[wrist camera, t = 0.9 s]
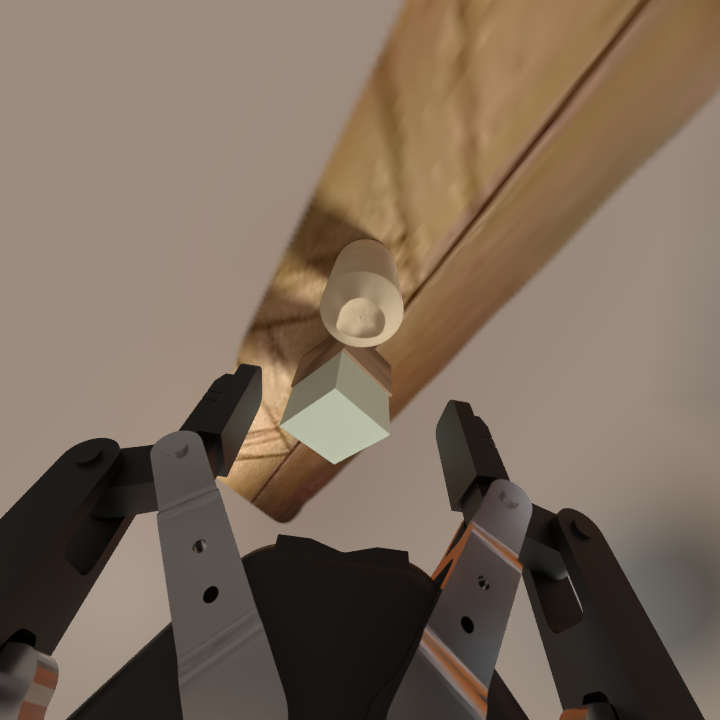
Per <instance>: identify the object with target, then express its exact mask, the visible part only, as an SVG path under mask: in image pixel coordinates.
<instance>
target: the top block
mask: <svg viewBox="0 0 720 720" xmlns="http://www.w3.org/2000/svg"><path fill="white" fill-rule="evenodd" d="M279 426H280V427H281V428H282V429H284V430H285V431H287V432H288V433H290V434H291V435H293V436H294V437H295V438H297V439H298V440H300V441H301V442H303V443H304V444H306V445H307V446H308V447H310V448H311V449H313V450H314V451H316V452H317V453H319V454H320V455H321V456H323V457H324V458H326V459H327V460H329V461H330V462H331V463H333V464H336V463H338V462H339V461H341V460H343V459H345V458H347V457H349V456H351V455H353V454H355V453H357V452H358V451H360V450H362V449H364V448H366V447H368V446H370V445H372V444H374V443H375V442H377V441H379V440H381V439H383V438H385V437H387V436H389V435H390V422H389V400H388V393H386V392H385V391H384V390H383V389H382V388H381V387H380V386H379V385H378V384H377V383H376V382H375V381H374V380H373V379H371V378H370V377H369V376H368V375H367V374H366V373H365V372H364V371H363V370H362V369H361V368H360V367H359V366H358V365H356V364H355V363H354V362H353V361H352V360H351V359H350V358H349V357H348V356H347V355H346V354H345V353H344V352H343V351H341V352H340V353H338V354H337V355H336V356H334V357H333V358H332V359H330V360H329V361H328V362H326V363H325V364H323V365H322V366H321V367H319V368H318V369H317V370H315V371H314V372H313V373H311V374H310V375H309V376H307V377H306V378H305V379H303V380H302V381H300V382H299V383H298V384H296V385H295V386H294V387H293V389H292V392H291V395H290V397H289V400H288V403H287V406H286V409H285V411H284V414H283V417H282V420H281V422H280V425H279Z"/></svg>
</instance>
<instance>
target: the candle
mask: <svg viewBox="0 0 720 720" xmlns="http://www.w3.org/2000/svg"><path fill="white" fill-rule="evenodd" d="M320 314H321V319H322V321H323V324H324V326H325V327H326V329H327V330H328V332H329V333H330V334H331V335H332V336H333V337H334V338H336V339H337V340H339V341H340V342H342V343H344V344H347V345H350V346H354V347H371V346H375V345H378V344H380V343H383V342H384V341H386V340H388V339H389V338H390V337H391V336H392V335H393V334H394V333H395V332H396V331H397V329H398V328H399V326H400V324H401V321H402V318H403V301H402V295H401V290H400V284H399V278H398V272H397V267H396V263H395V259H394V257H393V255H392V254H391V252H390V251H389V250H388V248H386V247H385V246H384V245H383V244H381V243H379V242H377V241H374V240H370V239H361V240H357V241H354V242H352V243H350V244H348V245H347V246H346V247H345V248H344V249H343V250H342V251H341V252H340V254H339V255H338V257H337V259H336V262H335V264H334V267H333V270H332V272H331V275H330V277H329V280H328V282H327V285H326V287H325V290H324V293H323V295H322V298H321V302H320Z"/></svg>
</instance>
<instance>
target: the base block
mask: <svg viewBox="0 0 720 720" xmlns="http://www.w3.org/2000/svg"><path fill="white" fill-rule="evenodd" d="M341 351H343V352H344V353H345V354H346V355H347V356H348V357H349V358H350V359H351V360H352V361H353V362H354V363H355V364H356V365H358V366H359V367H360V368H361V369H362V370H363V371H364V372H365V373H366V374H367V375H368V376H369V377H370V378H371V379H373V380H374V381H375V382H376V383H377V384H378V385H379V386H380V387H381V388H382V389H383V390H384V391H385V392H386V393H388V398H389V397H391V396H393V389H392V375H391V365H390V364H389V363H388V362H387V361H386V360H385V359H384V358H383V357H382V356H381V355H380V354H379V353H378V352H377V351H376V350H375V349H374V348H373V347H372V346H371V347H354V346H350V345H347V344H344V343H342V342H340V341H339V340H337V339H336V338H334V337H333V336H332V335H331V336H329V337H328V338H327V339H325V340H324V341H323V342H321V343H320V344H319V345H318V346H316V347H315V348H314V349H312V350H311V351H310V352H308V353H307V354H306V355H304V356H303V357H302V358H301V360H300V363H299V366H298V368H297V371H296V374H295V376H294V379H293V382H292V384H291V387H292V388H293V387H294V386H295V385H296V384H298V383H299V382H300V381H302V380H303V379H305V378H306V377H307V376H309V375H310V374H311V373H313V372H314V371H315V370H317V369H318V368H319V367H321V366H322V365H323V364H325V363H326V362H328V361H329V360H330V359H332V358H333V357H334V356H336V355H337V354H338V353H340V352H341Z"/></svg>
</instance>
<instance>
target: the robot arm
mask: <svg viewBox="0 0 720 720" xmlns="http://www.w3.org/2000/svg"><path fill="white" fill-rule="evenodd" d="M261 399H262V369H261V367H260V366H254V365H249V364H241V365H240V366H239V367H238V369H237V370H236V372H235V374H234V375H232V374H225V375H223V376H221V377H220V378H218V379H217V380H215V381H214V383H213V384H212V385H211V387H210V388H209V389H208V392H206V394H205V395H204V396H203V398H202V400H201V401H200V402H199V403H198V405H197V406H196V407H195V409H194V410H193V412H192V413H191V414H190V416H189V417H188V419H187V420H186V421H185V423H184V424H183V425H182V427H181V428H180V429H179V431H177V432H173V433H170V434H168V435H166V436H164V437H162V438H161V439H160V440H159V441H157V442H156V443H155V444H154V445H148V446H140V447H132V448H123V449H120V447H119V445H118V443H117V442H116V441H114V440H112V439H108V438H96V439H91V440H88V441H84V442H82V443H79V444H77V445H75V446H74V447H72V448H71V449H69V450H68V451H66V452H65V453H64V454H63V455H62V456H61V457H60V458H59V459H58V460H57V461H56V462H55V463H54V464H53V465H52V466H51V467H50V468H49V469H48V470H47V471H46V472H45V474H43V476H42V477H41V478H40V479H39V480H38V481H37V482H36V483H35V484H34V485H33V486H32V487H31V488H30V489H29V490H28V491H27V492H26V493H25V494H24V495H23V496H22V497H21V498H20V499H19V500H18V501H17V502H16V504H15V505H13V507H12V508H11V509H10V510H9V511H8V512H7V513H6V514H5V515H4V516H3V517H2V518H1V519H0V720H44V716H45V713H46V710H47V707H48V705H49V703H50V700H51V698H52V696H53V694H54V691H55V689H56V685H57V682H58V676H59V670H58V666H57V663H56V661H55V660H54V659H53V658H52V657H51V655H52V653H53V651H54V650H55V648H56V646H57V645H58V643H59V641H60V640H61V638H62V636H63V635H64V633H65V631H66V630H67V628H68V626H69V625H70V623H71V621H72V620H73V618H74V617H75V615H76V613H77V612H78V610H79V608H80V607H81V605H82V603H83V602H84V600H85V598H86V597H87V595H88V593H89V592H90V590H91V588H92V587H93V585H94V583H95V582H96V580H97V578H98V577H99V575H100V574H101V572H102V570H103V569H104V567H105V565H106V563H107V562H108V560H109V559H110V557H111V555H112V554H113V552H114V550H115V549H116V547H117V545H118V544H119V542H120V540H121V539H122V537H123V535H124V534H125V532H126V530H127V529H128V527H129V525H130V524H131V522H132V520H133V519H134V517H135V516H136V515H137V514H142V513H147V512H153V511H159V513H158V514H157V524H158V531H159V538H160V545H161V551H162V558H163V565H164V571H165V578H166V585H167V592H168V599H169V606H170V613H171V619H172V621H171V622H170V623H169V624H168V625H167V626H166V627H165V628H164V629H163V630H162V631H161V632H160V633H159V634H157V635H156V637H154V638H153V639H152V640H151V641H150V642H149V643H148V644H147V645H146V646H144V647H143V648H142V649H141V650H140V651H139V652H138V653H137V654H136V655H135V656H134V657H133V658H131V659H130V660H129V661H128V662H127V663H126V664H125V665H124V666H123V667H122V668H121V669H120V670H119V671H118V672H116V673H115V674H114V675H113V676H112V677H111V678H110V679H109V680H108V681H107V682H106V683H105V684H103V685H102V686H101V687H100V688H99V689H98V690H97V691H96V692H95V693H94V694H93V695H92V696H91V697H89V698H88V699H87V700H86V701H85V702H84V703H83V704H82V705H81V706H80V707H79V708H78V709H77V710H76V711H74V712H73V713H72V714H71V715H70V716H69V717H68V718H67V719H66V720H529V719H528V717H527V716H526V714H525V713H524V711H523V710H522V708H521V707H520V705H519V704H518V702H517V701H516V700H515V698H514V697H513V695H512V693H511V692H510V691H509V689H508V688H507V686H506V685H505V683H504V682H503V680H502V679H501V677H500V676H499V674H498V673H497V671H496V670H495V664H496V661H497V657H498V654H499V651H500V647H501V644H502V640H503V637H504V633H505V630H506V626H507V623H508V619H509V616H510V612H511V609H512V605H513V602H514V598H515V594H516V591H517V588H518V584H519V581H520V577H521V574H522V576H523V579H524V583H525V586H526V589H527V592H528V596H529V599H530V602H531V606H532V609H533V612H534V615H535V619H536V622H537V626H538V629H539V632H540V636H541V639H542V642H543V646H544V649H545V652H546V655H547V659H548V662H549V665H550V669H551V672H552V675H553V679H554V682H555V685H556V688H557V692H558V695H559V698H560V702H561V705H562V708H563V713H562V714H561V716H560V719H559V720H705V719H704V717H703V716H702V714H701V712H700V710H699V708H698V706H697V704H696V703H695V701H694V699H693V697H692V695H691V694H690V692H689V690H688V688H687V686H686V685H685V683H684V681H683V679H682V677H681V675H680V674H679V672H678V670H677V668H676V666H675V665H674V663H673V661H672V659H671V658H670V656H669V654H668V652H667V650H666V648H665V647H664V645H663V643H662V641H661V639H660V637H659V636H658V634H657V632H656V630H655V628H654V627H653V625H652V623H651V621H650V620H649V618H648V616H647V614H646V612H645V610H644V608H643V607H642V605H641V603H640V601H639V600H638V598H637V596H636V594H635V592H634V590H633V589H632V587H631V585H630V583H629V581H628V580H627V578H626V576H625V574H624V572H623V570H622V569H621V567H620V565H619V563H618V561H617V560H616V558H615V556H614V554H613V552H612V551H611V549H610V547H609V545H608V543H607V541H606V540H605V538H604V536H603V534H602V533H601V531H600V530H599V528H598V527H597V526H596V525H595V524H594V523H593V521H591V520H590V519H589V518H588V517H587V516H585V515H584V514H582V513H580V512H578V511H576V510H574V509H570V508H565V509H562V510H561V511H559V512H558V513H557V514H555V513H552V512H550V511H548V510H546V509H543V508H541V507H539V506H537V505H535V504H533V503H531V501H530V499H529V497H528V496H527V494H526V493H525V492H524V491H523V490H522V489H521V488H520V487H519V486H517V485H516V484H514V483H513V482H511V481H510V480H509V477H508V475H507V472H506V470H505V467H504V465H503V463H502V460H501V458H500V456H499V453H498V450H497V448H495V443H494V441H493V439H492V436H491V434H490V431H489V429H488V427H487V426H486V424H485V423H484V422H483V421H482V419H481V418H480V417H478V416H474V414H473V411H472V408H471V406H470V404H469V403H467V402H462V401H456V400H450V401H449V402H448V403H447V406H446V407H445V410H444V412H443V414H442V416H441V418H440V420H439V422H438V424H437V428H436V440H437V444H438V449H439V453H440V459H441V463H442V468H443V473H444V477H445V482H446V487H447V491H448V496H449V501H450V505H451V510H452V511H458V512H463V517H464V520H463V521H462V523H461V524H460V526H459V528H458V530H457V532H456V534H455V535H454V537H453V540H452V541H451V543H450V545H449V547H448V549H447V551H446V553H445V554H444V556H443V558H442V560H441V562H440V564H439V565H438V567H437V568H436V570H435V571H434V573H433V575H432V576H431V577H430V576H428V575H427V574H426V573H425V572H424V571H423V570H421V569H420V568H418V567H417V566H415V565H414V564H412V563H410V562H409V557H408V551H401V550H393V549H386V548H378V547H376V548H370V549H364V550H358V551H352V552H346V553H344V552H340V551H338V550H336V549H333V548H331V547H329V546H327V545H324V544H322V543H320V542H318V541H315V540H313V539H311V538H302V537H296V536H287V535H281V534H279V535H278V537H277V541H276V544H273V545H268V546H265V547H261V548H259V549H256V550H254V551H252V552H250V553H249V554H247V555H245V556H243V557H242V558H240V554H239V551H238V548H237V545H236V542H235V538H234V535H233V532H232V529H231V526H230V523H229V520H228V516H227V513H226V510H225V507H224V504H223V500H222V497H221V495H220V492H219V489H217V487H216V483H215V479H216V477H217V476H223V477H227V476H228V474H229V472H230V469H231V467H232V465H233V463H234V461H235V459H236V457H237V454H238V452H239V450H240V448H241V446H242V444H243V442H244V439H245V437H246V435H247V433H248V431H249V429H250V426H251V424H252V422H253V420H254V418H255V416H256V414H257V411H258V409H259V407H260V404H261ZM568 575H569V576H570V579H571V581H572V583H573V586H574V588H575V591H576V593H577V595H578V598H579V600H580V603H581V606H582V610H583V613H582V610H581V608H580V606H579V603H578V601H577V598H576V596H575V594H574V591H573V589H572V586H571V584H570V581H569V579H568Z"/></svg>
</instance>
